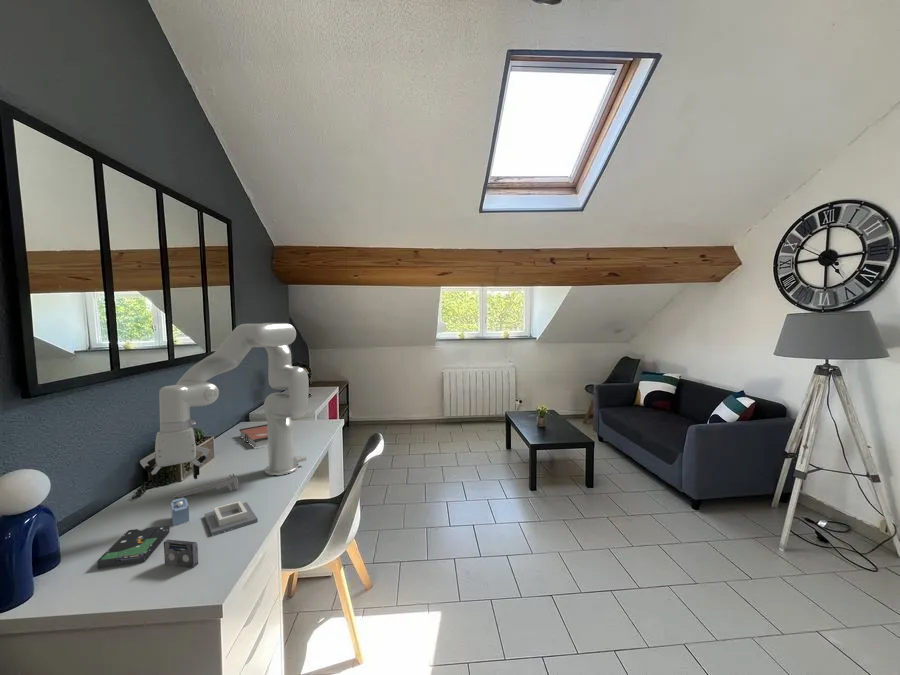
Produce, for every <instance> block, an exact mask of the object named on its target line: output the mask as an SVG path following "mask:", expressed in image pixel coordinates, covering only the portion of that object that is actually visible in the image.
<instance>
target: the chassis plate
mask: <svg viewBox="0 0 900 675" xmlns="http://www.w3.org/2000/svg"><path fill="white" fill-rule="evenodd" d="M203 515H204V519H205V522H206V521H207V522H206V524H208V525H207V527H208V530H209V529H210V530H209V532H210V535H211V536H212V535H214V536H216V535H215V534H217V535H219V534H218V533H220V534H222V533H221V532H223V533H225V532H224V531H226V532H228V531H227V530H230V531H232V530H231V529H233V530H236V529H239V528H242V527H241V526H243V527H246V526H248V524H249V525H251V524H255V523H258V522H259V521H258V517H257V515H256V514H255V512H254V511H253V510H252V508H251V506H250V505H249V503H248V502H242V500H238V501H235V502H230V503H228V504H227V503H226V504H223V505H220V506H217V507H214V508H213V511H211V512H207V513H204V514H203ZM245 525H246V526H245ZM238 527H239V528H238ZM235 528H236V529H235Z"/></svg>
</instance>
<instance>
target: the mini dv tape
mask: <svg viewBox="0 0 900 675" xmlns="http://www.w3.org/2000/svg"><path fill="white" fill-rule="evenodd" d="M198 549H199V548H198V542H197V541H187V540H179V539H177V540H176V539H166V540H164V541H163V551H164V552H163V553H164V557H163V558H164V565H165V566H173V567H174V566H175V567H183V568H190V569H195V568H196V566H198V565H199V553H198V552H199V550H198Z"/></svg>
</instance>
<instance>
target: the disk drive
mask: <svg viewBox="0 0 900 675" xmlns="http://www.w3.org/2000/svg"><path fill="white" fill-rule="evenodd" d="M169 533H170V524H169V525H160V526H150V527H146V528H144V529H141V530H140V529H138V528H136V529H135V528H134V529H128V530H127V531H126V532H125V533H124V534H123V535H122V536H121V537H120V538H119V539H118V540H117V541H116V542H115V543H114V544H113V545H112V546H111V547H109V548H108V549H107V551H106V552H105V553H103V554H102V555H101V557H99V559H98V560H97V569H98V570H100V569H101V570H103V569H108V568H114V567H121V566H129V565H135V564H142V563H145V562H147V560H148V559H149V558H150V557H151V556H152V554H153V553H154V552H155V551H156V550H157V548H158V547H159V546H160V544H161V543H162V542H164V541H165V538H167V537H168V535H170V534H169Z"/></svg>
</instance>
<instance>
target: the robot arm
mask: <svg viewBox="0 0 900 675" xmlns="http://www.w3.org/2000/svg"><path fill="white" fill-rule="evenodd" d="M296 337H297V331H296V329H295V327H294V326H293V324H290V323H287V322H263V323H242V324H239V325H237V326H236V327H235V328H234V329H233V330H232V332H230V334H229V335H228V336H227V337H226V338H225V339H224V341H223V342H222V343H221V344H220V346H218V348H217V349H216V350H215V351H214V352H213V353H212V354H210V355H208V356H206V357H205V358H203V359H202V360H199V361H198V362H197V363H195V364H194V365H192V366H191V367H190V368H189V369H188V370H186V372H184V374H183V375H182V376H181V377H180V378H179V380H178V381H177V382H176V383H175V384H172V385H166V386H163V387H161V388H160V389H159V391H158V392H159V396H158V397H159V400H158V401H159V431H158V432H156V435H155V443H154V445H155V446H154V452H152V453H150V454H149V455H147V456H145V457H144V458H142V459H141V460H140V461H139V464H140V465H141V466H142V468H143V469H144V470H145V471H146V472H148V473H150V474H151V476H152V480H151V481H152V485H155V488H159V487H160V480H159V478H160V477H159V475H160V474H159V471H160V469H162V467H168V466H169V467H170V466H173V465H179V464H180V465H181V464H185V463H189V462H191V463H193V465H192V472H193V473H192V475H193V479H194V480H198V476H200V466H201V464H202V463H203V462H204V461H205V460H206V459H207V457H208V455H209V453H210V449H209V448H208V447H203V446H199V445H197V444H196V439H195V438H196V437H195V431H194V428H193V427H192V426H193V425H196V423H197V422H196V419H191V407H205V406H209V405H211V404H213V403H214V402H216V401H217V400H218V398H219V394H220V390H219V388H218V387H217V385H215V384H214V383H212V382H208V381H209V380H210V379H212V378H213V377H215V376H217V375H220V374H223V373H226V372H229V371H231V370H234V369H235V368H237V367H238V366H239V365H240V363H241V362H242V361H243V360H244V359H245V357H246V356H247V354H249V352H250V351H251V350H252V348H264V349H265V351H266V352H267V356H268V360H267V361H268V368H267V369H268V372H267V373H268V385H269V386H270V388H272V389H274V390H283V391H288V392H272V393H270V394H268V395H267V397H266V398H265V399H264V403H263V410H264V414H265V417H266V424H267V427H268V446H267V448H268V449H267V451H268V465H267V466H266V467H265V468H264V473H265V474H266V475H267V474H268V476H273V475H277V476H282V475H283V476H284V474H285V475H288V473H289V474H292V473H294V472H295V471H297V470H299V469H298V468H299V463H301V462H306V461H307V456H305V455H304V456H302V455H298V456H295V447H294V444H295V443H294V424H293V421H292V419H299V418H300V419H301V418H302V417H304V416H305V415H306V414H307V411H308V409H309V408H308V407H309V389H310V388H309V387H310V386H309V383H310V382H309V380H310V379H309V376H308V373H307V371H306V369H304V368H303V367H301V366H293V364H292V352H291V348H290V347H289V345H291V344H292V343H294V342H295V340H296ZM197 452H201V453H202V454H201V456H199V457H198V458H197ZM153 459H154V462H155V464H154V466H151V465H149V464H148V462H150V461H152V460H153Z"/></svg>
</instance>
